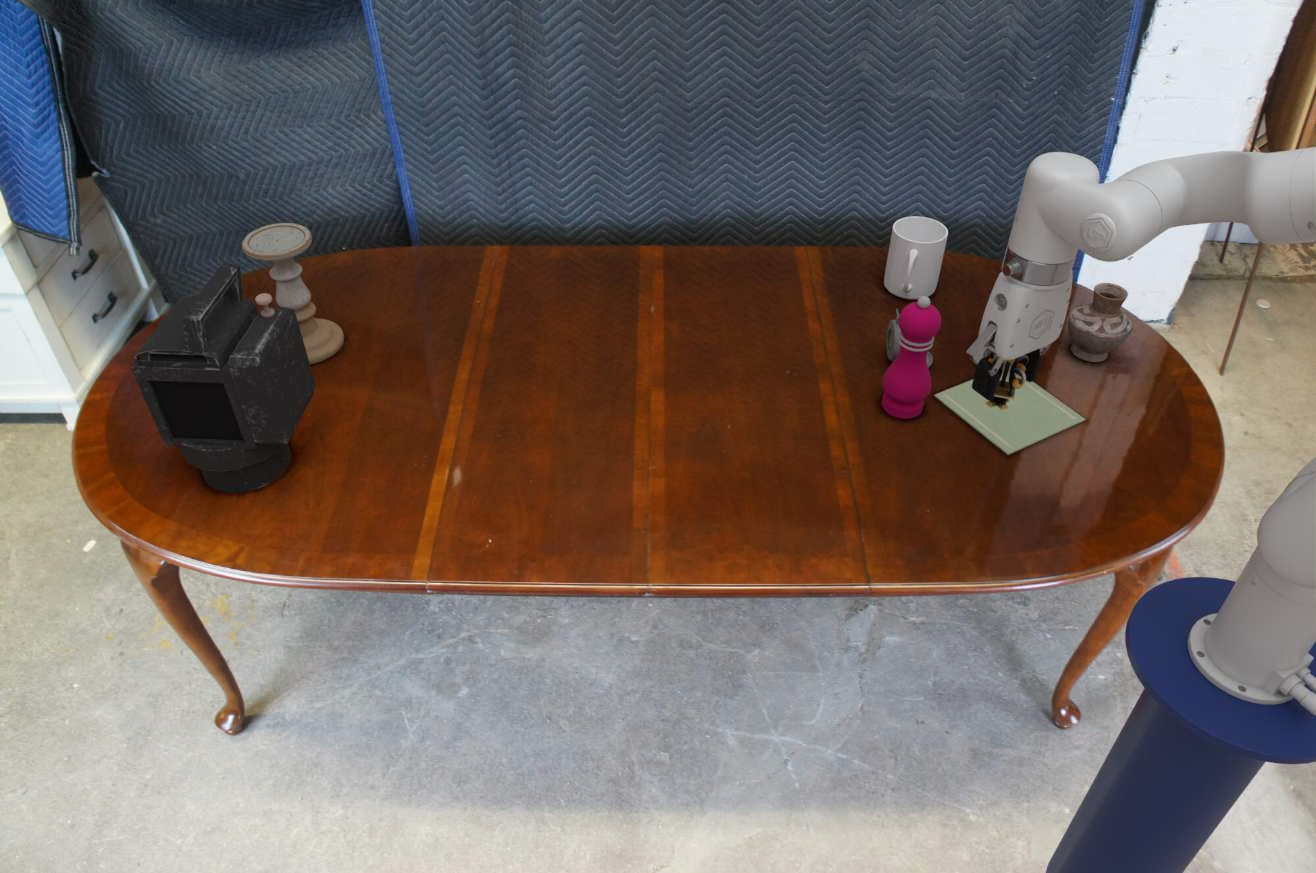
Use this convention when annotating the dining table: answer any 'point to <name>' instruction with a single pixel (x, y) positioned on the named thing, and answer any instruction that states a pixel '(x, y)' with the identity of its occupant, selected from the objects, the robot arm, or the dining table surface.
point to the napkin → (1011, 415)
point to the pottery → (1098, 324)
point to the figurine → (1008, 388)
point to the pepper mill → (911, 361)
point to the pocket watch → (894, 344)
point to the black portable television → (227, 382)
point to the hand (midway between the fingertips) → (1002, 384)
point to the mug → (915, 257)
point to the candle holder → (294, 284)
